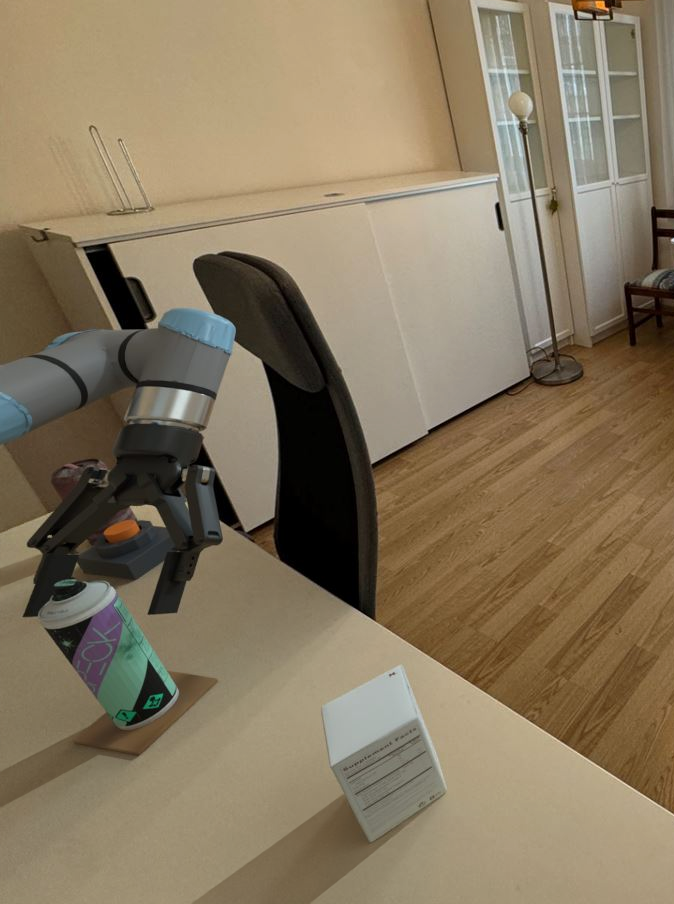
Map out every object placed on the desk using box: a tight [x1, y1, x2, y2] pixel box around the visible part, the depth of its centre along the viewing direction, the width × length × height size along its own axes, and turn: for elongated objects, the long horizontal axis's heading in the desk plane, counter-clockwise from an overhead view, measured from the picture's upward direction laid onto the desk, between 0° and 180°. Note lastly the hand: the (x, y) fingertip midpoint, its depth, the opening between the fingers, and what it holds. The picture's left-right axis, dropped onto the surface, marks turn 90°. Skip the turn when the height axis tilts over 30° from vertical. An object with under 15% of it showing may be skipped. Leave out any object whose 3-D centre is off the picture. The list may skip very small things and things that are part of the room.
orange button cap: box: [104, 520, 140, 543], centre depth 87 cm, size 4×4×2 cm
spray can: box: [37, 576, 179, 730], centre depth 62 cm, size 6×6×20 cm
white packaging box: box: [320, 664, 448, 844], centre depth 55 cm, size 7×7×13 cm
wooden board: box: [72, 669, 219, 756], centre depth 66 cm, size 9×9×1 cm
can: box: [50, 458, 139, 546], centre depth 92 cm, size 6×6×14 cm
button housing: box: [76, 519, 178, 581], centre depth 89 cm, size 10×8×5 cm
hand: (101, 615), depth 61 cm, fingers open, 13 cm apart
